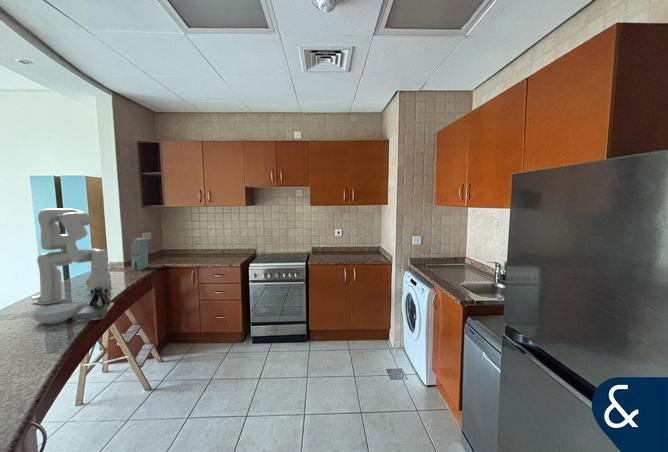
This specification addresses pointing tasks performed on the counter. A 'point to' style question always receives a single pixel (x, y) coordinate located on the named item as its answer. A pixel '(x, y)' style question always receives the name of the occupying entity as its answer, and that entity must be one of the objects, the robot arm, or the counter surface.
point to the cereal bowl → (55, 313)
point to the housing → (92, 312)
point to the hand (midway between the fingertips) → (99, 300)
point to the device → (139, 253)
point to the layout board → (98, 317)
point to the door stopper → (103, 298)
